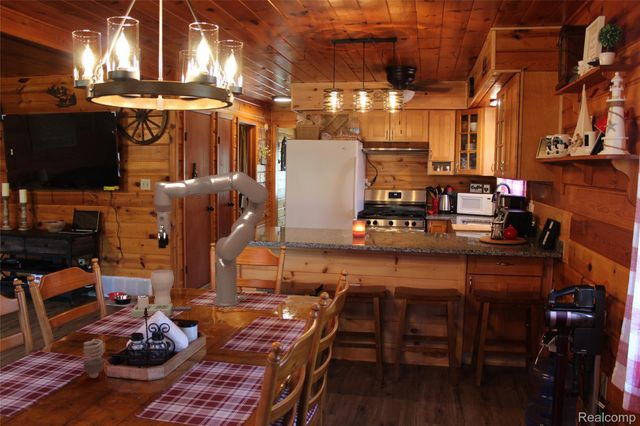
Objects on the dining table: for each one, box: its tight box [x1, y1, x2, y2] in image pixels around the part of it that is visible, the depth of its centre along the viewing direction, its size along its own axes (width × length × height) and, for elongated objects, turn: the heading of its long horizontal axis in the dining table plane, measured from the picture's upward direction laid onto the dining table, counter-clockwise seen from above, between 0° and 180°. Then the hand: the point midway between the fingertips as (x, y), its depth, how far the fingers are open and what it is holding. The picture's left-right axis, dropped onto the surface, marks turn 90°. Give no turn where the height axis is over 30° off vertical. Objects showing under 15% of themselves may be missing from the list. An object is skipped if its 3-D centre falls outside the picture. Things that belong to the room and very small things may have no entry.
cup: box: [150, 269, 175, 304], centre depth 247 cm, size 11×11×15 cm
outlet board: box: [130, 302, 174, 318], centre depth 229 cm, size 16×12×3 cm
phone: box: [172, 306, 193, 312], centre depth 236 cm, size 8×4×1 cm, turn 97°
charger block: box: [137, 296, 150, 310], centre depth 228 cm, size 4×4×7 cm
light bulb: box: [82, 338, 104, 379], centre depth 157 cm, size 6×6×12 cm
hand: (163, 246), depth 236 cm, fingers open, 9 cm apart
